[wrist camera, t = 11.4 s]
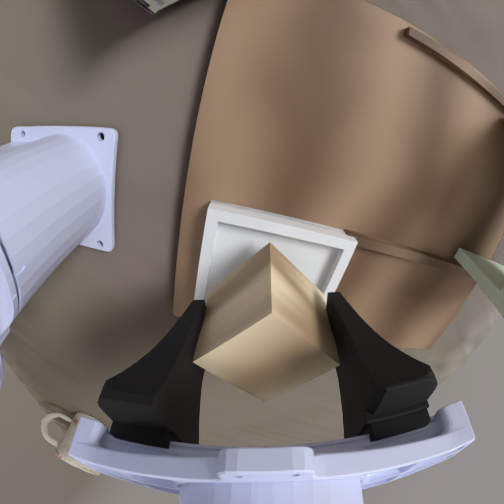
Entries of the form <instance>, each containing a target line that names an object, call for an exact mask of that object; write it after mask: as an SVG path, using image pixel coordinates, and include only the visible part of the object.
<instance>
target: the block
mask: <svg viewBox="0 0 504 504" xmlns="http://www.w3.org/2000/svg"><path fill="white" fill-rule="evenodd" d="M206 307H207V309H206V313H205V318H204V322H203V325H202V328H201V332H200V335H199V338H198V342H197V345H196V349H195V353H194V358H193V363H195V364H197V365H198V366H200V367H202V368H203V369H205V370H207V371H209V372H210V373H212V374H214V375H216V376H217V377H219V378H221V379H223V380H224V381H226V382H228V383H230V384H232V385H234V386H236V387H237V388H239V389H241V390H243V391H245V392H247V393H249V394H251V395H253V396H255V397H257V398H259V399H261V400H263V401H265V400H267V399H270V398H272V397H274V396H277V395H279V394H281V393H284V392H286V391H288V390H291V389H293V388H295V387H297V386H299V385H301V384H304V383H306V382H308V381H310V380H312V379H314V378H316V377H318V376H320V375H322V374H324V373H326V372H328V371H330V370H332V369H334V368H336V367H338V366H339V365H340V362H339V357H338V353H337V348H336V344H335V339H334V336H333V333H332V330H331V327H330V323H329V320H328V316H327V312H326V302H325V298H324V294H323V293H322V292H321V291H320V290H319V289H318V288H317V287H316V286H315V285H314V284H313V283H312V282H311V281H310V280H309V279H308V278H307V277H306V276H305V275H304V274H303V273H302V272H301V271H300V270H298V269H297V268H296V267H295V266H294V265H293V264H292V263H291V262H290V261H289V260H288V259H287V258H286V257H285V256H284V255H283V254H282V253H281V252H280V251H279V250H278V249H277V248H276V247H275V246H273V245H272V244H271V243H270V242H269V243H268V244H267V245H265V246H264V247H263V248H262V249H261V250H259V251H258V252H257V253H256V254H254V255H253V256H252V257H251V258H249V259H248V260H247V261H246V262H244V263H243V264H242V265H241V266H240V267H238V268H237V269H236V270H235V271H233V272H232V273H231V274H230V275H228V276H227V277H226V278H225V279H223V280H222V281H221V282H220V283H219V284H217V285H216V286H215V287H214V288H212V289H211V290H210V292H209V296H208V300H207V304H206Z"/></svg>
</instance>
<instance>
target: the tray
mask: <svg viewBox="0 0 504 504" xmlns="http://www.w3.org/2000/svg"><path fill="white" fill-rule="evenodd" d="M269 242H270V243H271V244H272V245H273V246H275V247H276V248H277V249H278V250H279V251H280V252H281V253H282V254H283V255H284V256H285V257H286V258H287V259H288V260H289V261H290V262H291V263H292V264H293V265H294V266H295V267H296V268H297V269H298V270H300V271H301V272H302V273H303V274H304V275H305V276H306V277H307V278H308V279H309V280H310V281H311V282H312V283H313V284H314V285H315V286H316V287H317V288H318V289H319V290H320V291H321V292H322V293H323V294H324V298H325V302H326V304H327V294H328V292H335V291H336V289H337V287H338V285H339V282H340V280H341V278H342V276H343V274H344V272H345V270H346V268H347V266H348V263H349V261H350V259H351V257H352V255H353V253H354V250H355V248H356V246H357V244H358V242H357V240H356V239H355V237H352V236H348V235H346V233H345V231H344V230H341V229H337V228H333V227H329V226H325V225H321V224H317V223H313V222H309V221H305V220H301V219H297V218H293V217H288V216H284V215H280V214H276V213H271V212H267V211H262V210H258V209H253V208H249V207H244V206H240V205H235V204H230V203H226V202H221V201H216V200H211V202H210V204H209V207H208V210H207V216H206V222H205V228H204V234H203V241H202V247H201V253H200V260H199V267H198V274H197V281H196V288H195V296H194V300H205V303H206V304H207V300H208V296H209V292H210V290H211V289H212V288H214V287H215V286H216V285H217V284H219V283H220V282H221V281H222V280H223V279H225V278H226V277H227V276H228V275H230V274H231V273H232V272H233V271H235V270H236V269H237V268H238V267H240V266H241V265H242V264H243V263H244V262H246V261H247V260H248V259H249V258H251V257H252V256H253V255H254V254H256V253H257V252H258V251H259V250H261V249H262V248H263V247H264V246H265V245H267V244H268V243H269Z"/></svg>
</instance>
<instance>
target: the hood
mask: <svg viewBox="0 0 504 504" xmlns="http://www.w3.org/2000/svg"><path fill="white" fill-rule="evenodd" d="M454 258H455V259H456V260H457V261H458V262H459V263H460V264H461V265H462V267H463V268H464V269H465V270H466V271H467V272H468V273H469V274H470V276H471V277H472V278H473V279H474V280H475V281H476V283H477V284H478V285H479V286H480V287H481V289H482V290H483V291H484V292H485V294H486V295H487V296H488V297H489V299H490V300H491V301H492V303H493V304H494V305H495V306H496V308H497V309H498V310H499V312H500V313H501V315H502V316H503V317H504V266H503V265H500V264H498V263H496V262H494V261H491V260H489V259H486V258H484V257H482V256H479V255H477V254H474V253H472V252H469V251H467V250H464V249H462V248H459V249H458V251H457V252H456V254H455V256H454Z"/></svg>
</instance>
